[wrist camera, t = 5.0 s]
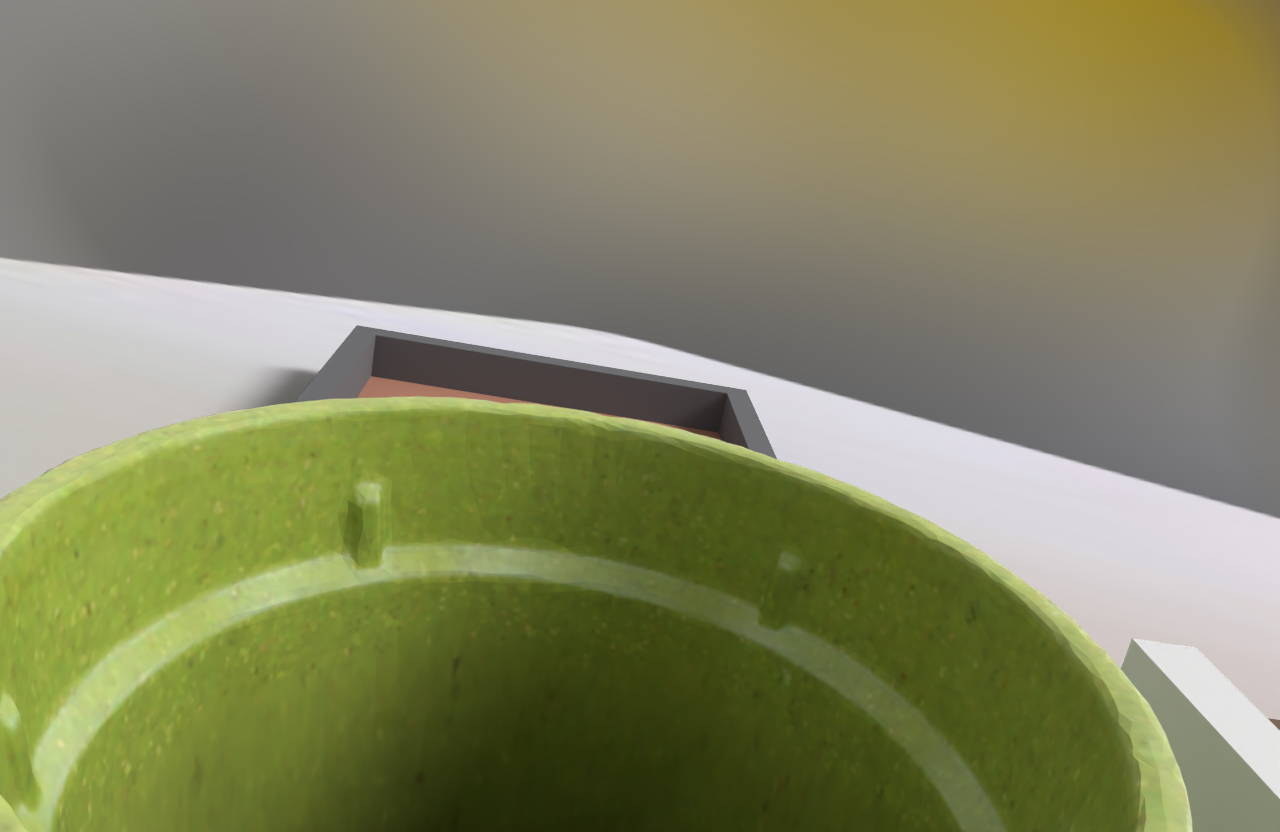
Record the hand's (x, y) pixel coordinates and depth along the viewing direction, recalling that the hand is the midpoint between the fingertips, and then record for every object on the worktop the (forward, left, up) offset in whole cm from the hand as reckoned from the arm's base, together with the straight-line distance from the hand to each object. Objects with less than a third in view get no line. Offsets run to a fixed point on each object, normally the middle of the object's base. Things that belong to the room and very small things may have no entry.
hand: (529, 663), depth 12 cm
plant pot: (-2, 0, -7) cm, 7 cm away
